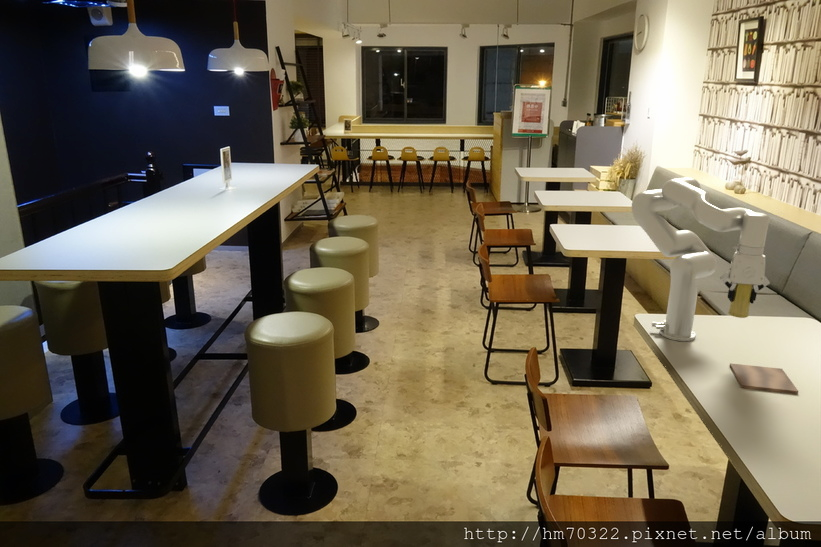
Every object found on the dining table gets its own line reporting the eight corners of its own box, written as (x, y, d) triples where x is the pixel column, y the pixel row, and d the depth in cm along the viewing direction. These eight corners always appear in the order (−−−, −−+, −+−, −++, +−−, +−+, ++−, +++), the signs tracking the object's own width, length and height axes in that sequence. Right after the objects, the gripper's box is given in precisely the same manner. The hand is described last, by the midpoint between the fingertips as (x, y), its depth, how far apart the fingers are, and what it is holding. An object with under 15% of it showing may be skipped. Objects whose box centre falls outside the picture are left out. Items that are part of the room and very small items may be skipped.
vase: (750, 318, 210) (758, 278, 206) (731, 317, 212) (738, 277, 207) (745, 312, 216) (752, 272, 212) (726, 310, 217) (733, 271, 213)
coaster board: (741, 387, 198) (742, 385, 197) (729, 366, 213) (730, 363, 212) (797, 394, 194) (798, 391, 194) (781, 371, 209) (782, 368, 209)
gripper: (724, 251, 205) (715, 302, 211) (782, 255, 201) (771, 307, 207) (719, 245, 212) (711, 295, 218) (775, 248, 208) (765, 299, 214)
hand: (740, 300), depth 212 cm, fingers closed on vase, 5 cm apart
